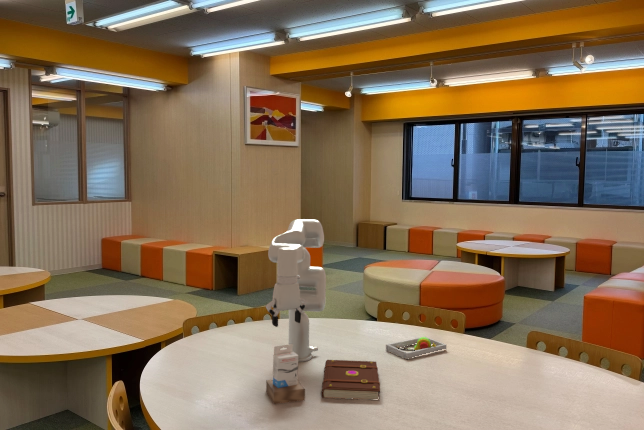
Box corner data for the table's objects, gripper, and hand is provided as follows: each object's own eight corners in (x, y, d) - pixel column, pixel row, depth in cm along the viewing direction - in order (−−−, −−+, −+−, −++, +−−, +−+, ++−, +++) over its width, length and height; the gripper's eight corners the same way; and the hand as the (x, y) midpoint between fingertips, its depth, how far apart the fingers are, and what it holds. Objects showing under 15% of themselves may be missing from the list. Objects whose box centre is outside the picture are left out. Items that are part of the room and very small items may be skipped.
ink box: (277, 388, 198) (278, 350, 197) (272, 384, 203) (272, 346, 201) (298, 384, 203) (298, 347, 201) (292, 380, 207) (292, 343, 206)
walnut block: (295, 389, 211) (295, 376, 210) (304, 401, 199) (305, 388, 199) (266, 392, 207) (266, 380, 206) (273, 405, 195) (274, 392, 195)
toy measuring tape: (436, 354, 254) (436, 340, 253) (395, 350, 258) (396, 337, 257) (436, 349, 260) (436, 336, 260) (396, 346, 264) (396, 333, 264)
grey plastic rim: (424, 342, 272) (424, 336, 272) (446, 350, 260) (446, 344, 260) (385, 350, 258) (385, 344, 258) (406, 359, 246) (406, 353, 245)
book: (376, 371, 232) (376, 359, 232) (380, 401, 201) (381, 388, 200) (324, 368, 233) (324, 357, 233) (320, 399, 202) (321, 386, 201)
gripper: (301, 275, 208) (301, 318, 209) (262, 280, 198) (261, 324, 200) (311, 279, 201) (311, 323, 203) (271, 284, 192) (270, 330, 194)
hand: (286, 324), depth 201 cm, fingers open, 9 cm apart
